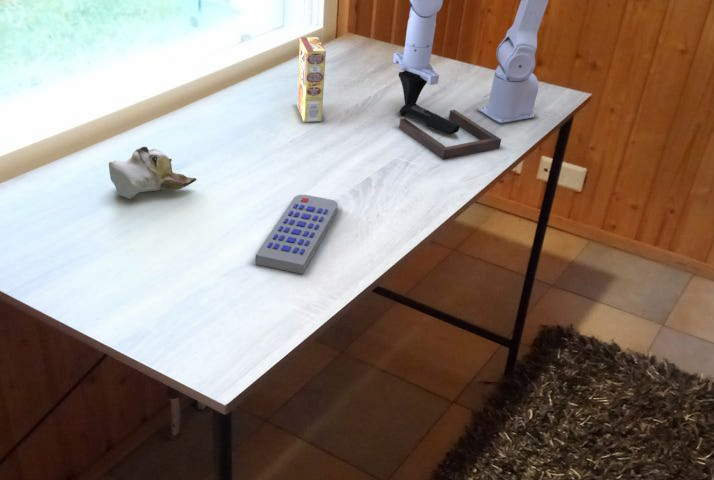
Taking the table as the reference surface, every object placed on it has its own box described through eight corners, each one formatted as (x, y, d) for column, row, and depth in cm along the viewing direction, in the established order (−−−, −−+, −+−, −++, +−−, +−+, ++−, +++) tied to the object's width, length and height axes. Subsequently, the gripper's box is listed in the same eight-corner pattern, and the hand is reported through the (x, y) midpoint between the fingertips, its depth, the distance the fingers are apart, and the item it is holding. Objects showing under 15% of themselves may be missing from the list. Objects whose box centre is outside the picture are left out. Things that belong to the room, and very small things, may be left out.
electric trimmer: (449, 141, 168) (451, 127, 166) (397, 115, 178) (399, 101, 176) (461, 137, 170) (464, 123, 168) (409, 111, 180) (411, 97, 178)
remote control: (254, 265, 130) (255, 253, 128) (297, 200, 147) (298, 189, 145) (302, 275, 128) (303, 263, 126) (340, 208, 145) (341, 197, 143)
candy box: (322, 122, 174) (327, 50, 165) (302, 122, 174) (306, 51, 165) (314, 105, 181) (318, 36, 172) (295, 106, 181) (299, 36, 172)
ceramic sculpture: (95, 142, 143) (170, 128, 151) (97, 187, 148) (169, 171, 156) (122, 166, 137) (199, 150, 144) (123, 212, 142) (197, 195, 149)
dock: (452, 118, 178) (454, 109, 176) (499, 148, 166) (501, 139, 165) (398, 127, 173) (400, 119, 172) (442, 159, 161) (444, 150, 160)
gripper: (384, 34, 175) (377, 95, 183) (422, 56, 164) (412, 120, 173) (412, 31, 177) (404, 91, 185) (451, 52, 167) (440, 115, 175)
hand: (410, 105), depth 179 cm, fingers closed
